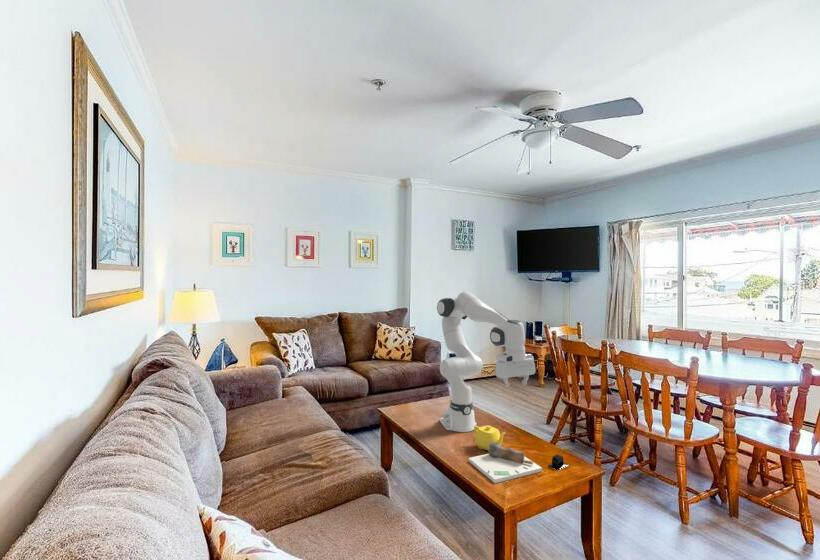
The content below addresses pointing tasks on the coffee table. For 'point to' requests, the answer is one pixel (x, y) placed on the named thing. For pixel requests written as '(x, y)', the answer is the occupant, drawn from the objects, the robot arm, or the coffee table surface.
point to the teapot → (487, 436)
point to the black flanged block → (557, 462)
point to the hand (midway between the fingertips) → (516, 385)
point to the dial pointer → (507, 453)
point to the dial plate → (503, 467)
